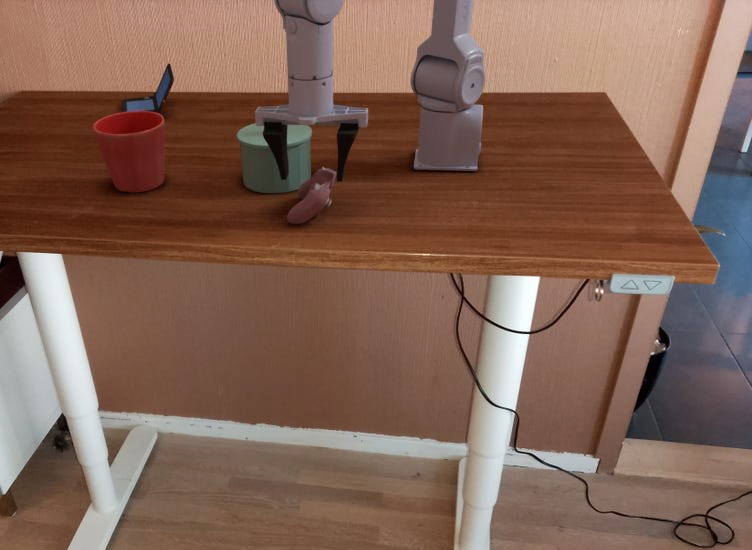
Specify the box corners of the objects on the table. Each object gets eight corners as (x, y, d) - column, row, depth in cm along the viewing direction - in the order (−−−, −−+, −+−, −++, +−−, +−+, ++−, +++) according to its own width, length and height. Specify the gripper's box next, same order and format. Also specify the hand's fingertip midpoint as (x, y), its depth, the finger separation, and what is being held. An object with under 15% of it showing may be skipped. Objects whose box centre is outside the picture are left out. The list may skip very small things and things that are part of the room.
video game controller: (313, 237, 98) (336, 194, 94) (283, 222, 97) (305, 179, 93) (324, 207, 106) (345, 166, 101) (296, 193, 105) (316, 151, 101)
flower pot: (117, 203, 107) (104, 139, 101) (96, 179, 115) (84, 119, 109) (183, 187, 111) (175, 124, 105) (158, 165, 119) (149, 105, 113)
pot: (304, 164, 116) (302, 121, 112) (316, 189, 107) (315, 143, 103) (240, 171, 115) (236, 128, 111) (247, 196, 106) (243, 151, 102)
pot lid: (305, 124, 112) (304, 96, 110) (318, 148, 103) (318, 118, 101) (233, 131, 111) (231, 103, 109) (241, 156, 102) (239, 126, 100)
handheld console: (122, 105, 148) (116, 67, 144) (174, 99, 149) (170, 61, 145) (123, 123, 138) (116, 83, 134) (179, 117, 139) (174, 77, 135)
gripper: (246, 83, 88) (254, 187, 96) (365, 83, 86) (362, 191, 93) (259, 67, 94) (265, 168, 102) (370, 67, 91) (368, 170, 99)
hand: (312, 178), depth 98 cm, fingers open, 7 cm apart
